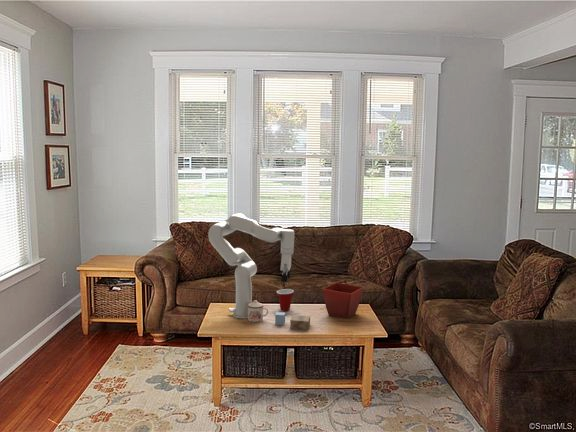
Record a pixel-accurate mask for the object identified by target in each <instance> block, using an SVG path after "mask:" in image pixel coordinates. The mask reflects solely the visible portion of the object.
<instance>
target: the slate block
mask: <svg viewBox="0 0 576 432" xmlns="http://www.w3.org/2000/svg"><path fill="white" fill-rule="evenodd" d="M274 322H275V323H274V325H275V326H285V324H286V312H283V311H282V312H280V311H276V313H275V318H274Z"/></svg>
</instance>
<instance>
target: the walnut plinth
mask: <svg viewBox="0 0 576 432" xmlns="http://www.w3.org/2000/svg"><path fill="white" fill-rule="evenodd" d="M289 320H290V322H289V324H290V325H289V327H290V330H300V331H301V330H303V331H308V330H309V329H310V325H311V315H300V314H299V315H298V314H293V315H292V316H291V319H289Z"/></svg>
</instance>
